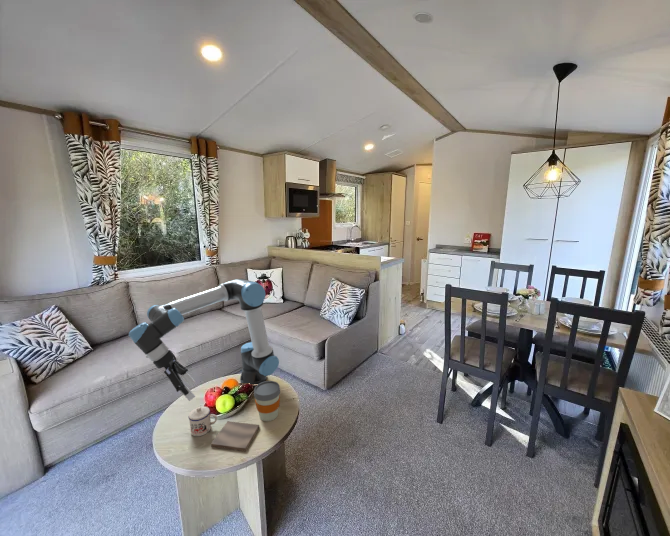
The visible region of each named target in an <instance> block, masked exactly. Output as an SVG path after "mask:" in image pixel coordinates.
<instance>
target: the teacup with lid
mask: <svg viewBox="0 0 670 536" xmlns="http://www.w3.org/2000/svg"><path fill="white" fill-rule="evenodd" d="M212 417H213V418H214V421H211V418H212ZM188 420H189V428H190V434H191V435H192V436H194V437H200V436H201V437H202V436H204V435H206V434H208V433H209V431H211V429H212V425H214V424H216V423H217V421H218V416H217V415H216V414H214V413H211V409H210V408H209V407H208V406H198V407H195V408H194V409H192V410H191V411H190V412H189V413H188Z"/></svg>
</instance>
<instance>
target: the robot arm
mask: <svg viewBox="0 0 670 536" xmlns="http://www.w3.org/2000/svg"><path fill="white" fill-rule="evenodd" d="M265 299H266V291H265V288H264V287H263V285H261V284H260V283H259V282H256V281H254V280H253V281H251V280H248V279H245V278H236V279H232V280H229V281H227V282H223V283H220V284H219V285H218V286H217V287H214V288H210V289H208V290H205V291H202V292H199V293H195V294H193V295H189V296H187V297H183V298H180V299H177V300H174V301H172V302H168V303H165V304H154V305H151V306H150V307H149V308H148V309H147V311H146V316H147V318H148V320H149V321H151V322H150V323H147V322H145V321H144V322H141V323H139V324H137V325H136V326H135V327H133V328H132V329H131V330H129V332H128V337H129V338H130V339H131V340H132V342H133V343H134V344H135V345H136V346H137V347H138V349H140V350H141V352H143V353H144V355H145V358H147V359H148V358H149V360H150V362H152V363H153V365H154V366H155V367H156V368H158V369H162V368H164V369H165V370H164V372H163V373H164V374H165V375H166V376H167V378H168V379H169V381H170V382H171V384H172V386H173V387H174V388H175V391H176V392H177V393H178V392H179V391H180V393H181V394H182V395H183V396H184V397H185V398H186V399H187V400H188V401H189V402H190V401H192V400H193V399H195V397H196V395H195V394H194V393H193V392H192V390H190V388H189V387H192V386H194V385H195V384H196V383H197V381H195V380H194V378H193V377H192V375H190V374H189V372H188V371H189V370H188V368H186V367H185V366H183V364H181V363H180V362H179V361H177V360H176V359H175V354H174V353H173V351H172V350H170V349H169V347H168V346H167V345H166V344H165V342H164V341H163V340H161V338H164V336H166V335H167V334H168V333H170V332H172V331H173V330H174V329H176V328H177V327H179V325H181V324H182V323H183V322H184V321H185V318H184V315H186V314H189V313H191V312H194V311H197V310H200V309H203V308H205V307H209V306H211V305H213V304H214V305H215V304H216V303H219V302H228V301H232V300H234V301H235V300H236V301H238V302H239V306H240V310H241V311H243V312H244V315H245V319H246V323H247V326H248V327H247V328H248V332H249V336H250V342H245V344H243V345H242V346H241V347H240V355H241V356H240V357H241V367H242V369H241V374H240V377H239V379H240V380H239V381H240V384H241V383H250V384H259V383H262V382H265V381H267V377H268V376H271V375H273V374H274V373H275V372H276V371H277V369H278V368H279V364H280V360H279V358H278V356H276V355H275V353H274V349H273V346H272V345H270V343H269V337H268V333H267V328H266V324H265V320H264V319H265V318H264V314H263V309H262V307H263V306H264V304H265V303H264V301H265ZM180 376H181V377H180ZM182 379H183V380H184V381H185V382H186V384H187V385H188V386H189V387H188V386H187V385H186V384H184V382H183V380H182Z"/></svg>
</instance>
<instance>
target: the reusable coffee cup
mask: <svg viewBox="0 0 670 536" xmlns="http://www.w3.org/2000/svg"><path fill="white" fill-rule="evenodd" d="M280 394H281V388H280V384H279V383H278V382H277V381H273V380H265V382H262V383H259V384H258V385H257V386H254V390H253V397H254V401H255V402H254V403H255V406H256V410H257V411H258V416H259V419H260V420H261V421H263V422H271V421H273V420H275V419H276V418H277V417H278V416H279V407H280V404H281V403H280V402H281V395H280Z"/></svg>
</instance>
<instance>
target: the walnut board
mask: <svg viewBox="0 0 670 536" xmlns="http://www.w3.org/2000/svg"><path fill="white" fill-rule="evenodd" d="M259 429H260V424H256V423H255V424H254V423H247V422H246V423H245V422H237V421H228V420H227V421H226V423H225V424H224V425H223V427H222V428H221V429H220V431H219V432H218V434H217V435H216V436H215V438H214V439H213V440H212V442H211V443H210V448H218V449H226V450H233V451H239V452H247V450H248V448H249V446H250V444H251V443H252V442H253V439H254V438H255V436H256V434H257V433H258V431H259Z"/></svg>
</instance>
